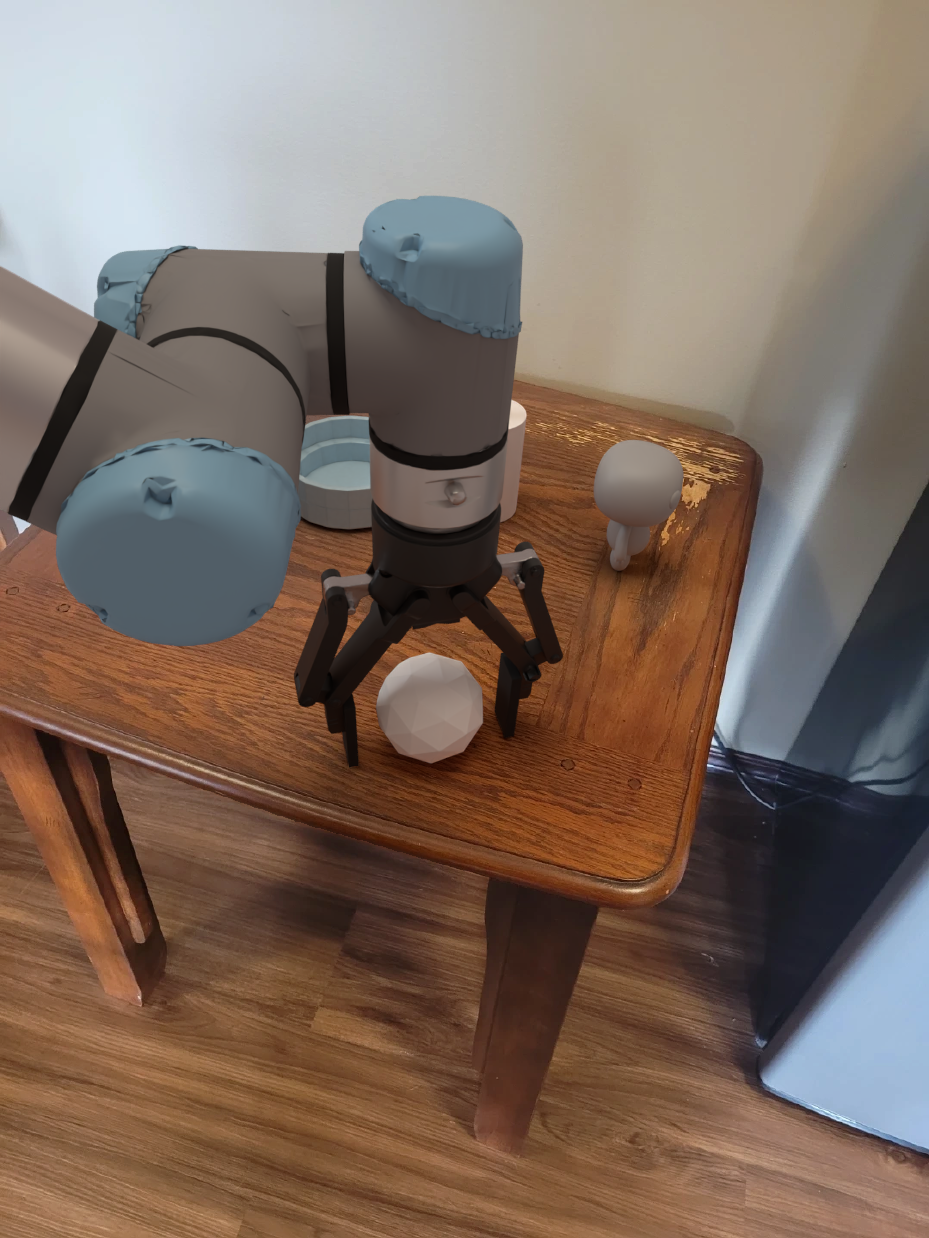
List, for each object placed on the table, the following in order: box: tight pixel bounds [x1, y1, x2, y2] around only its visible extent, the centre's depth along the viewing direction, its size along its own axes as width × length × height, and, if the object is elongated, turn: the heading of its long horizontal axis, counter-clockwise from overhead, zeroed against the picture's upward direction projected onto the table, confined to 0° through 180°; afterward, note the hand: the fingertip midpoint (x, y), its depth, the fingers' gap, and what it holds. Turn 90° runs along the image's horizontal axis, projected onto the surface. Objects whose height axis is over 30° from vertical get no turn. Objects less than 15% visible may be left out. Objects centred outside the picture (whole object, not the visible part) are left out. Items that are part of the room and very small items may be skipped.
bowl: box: [298, 415, 373, 530], centre depth 84 cm, size 13×13×5 cm
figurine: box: [593, 439, 685, 572], centre depth 76 cm, size 8×8×12 cm
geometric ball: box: [375, 651, 484, 764], centre depth 61 cm, size 8×8×8 cm
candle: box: [500, 399, 527, 523], centre depth 81 cm, size 6×6×15 cm
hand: (428, 737), depth 64 cm, fingers open, 11 cm apart
